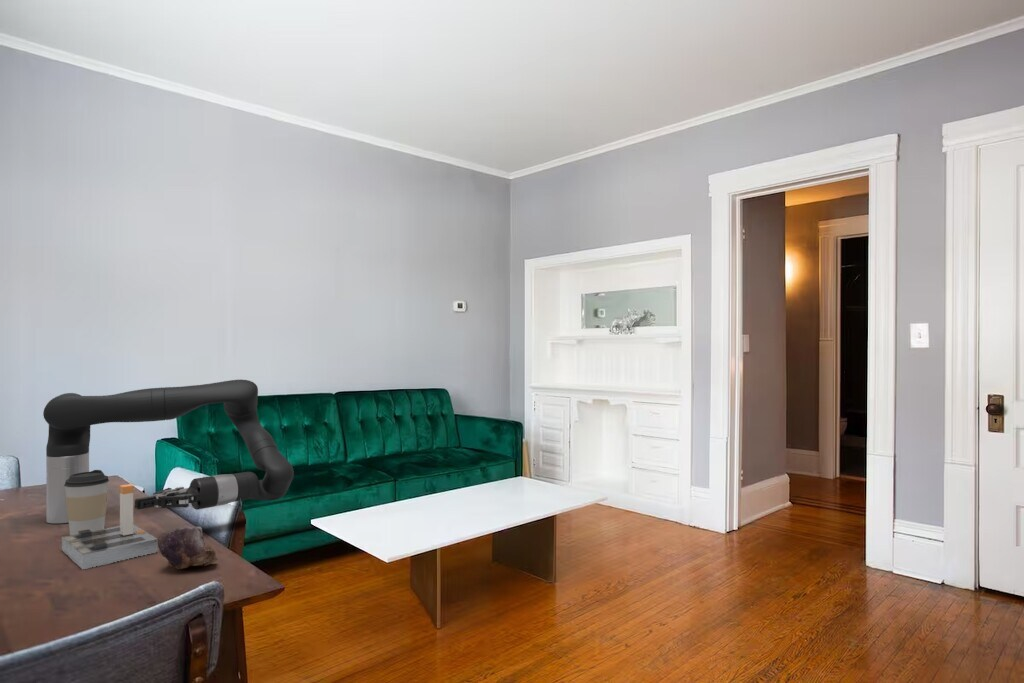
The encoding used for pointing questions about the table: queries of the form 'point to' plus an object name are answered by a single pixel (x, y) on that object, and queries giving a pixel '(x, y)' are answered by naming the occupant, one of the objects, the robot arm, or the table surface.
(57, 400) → the robot arm
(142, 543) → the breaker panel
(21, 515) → the table surface
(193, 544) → the rock
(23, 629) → the table surface
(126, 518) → the orange-capped grey post
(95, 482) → the coffee cup
